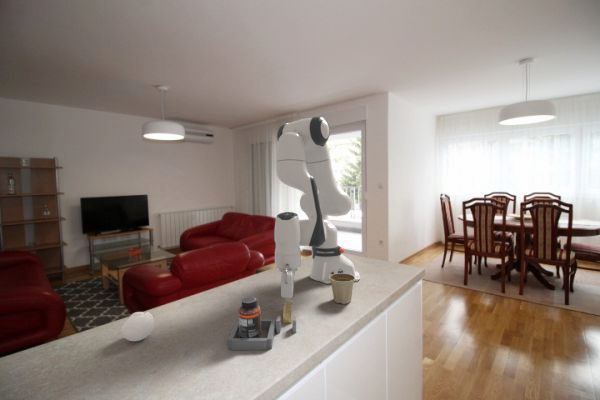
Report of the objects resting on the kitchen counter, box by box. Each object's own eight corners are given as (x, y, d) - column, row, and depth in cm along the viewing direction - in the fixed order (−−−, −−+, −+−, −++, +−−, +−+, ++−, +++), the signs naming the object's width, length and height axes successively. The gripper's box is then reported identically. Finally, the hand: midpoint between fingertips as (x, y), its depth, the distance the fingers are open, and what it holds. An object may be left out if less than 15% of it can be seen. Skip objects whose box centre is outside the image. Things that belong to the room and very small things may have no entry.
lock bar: (285, 311, 94) (284, 302, 93) (292, 311, 93) (292, 302, 93) (283, 323, 86) (283, 313, 85) (291, 323, 86) (291, 313, 85)
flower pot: (323, 301, 101) (323, 277, 100) (339, 293, 108) (338, 271, 107) (345, 308, 95) (345, 283, 94) (360, 299, 101) (360, 276, 101)
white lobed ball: (143, 329, 83) (142, 304, 83) (161, 335, 80) (159, 308, 80) (116, 343, 76) (114, 316, 76) (134, 350, 73) (132, 321, 72)
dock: (296, 326, 83) (296, 315, 83) (295, 349, 72) (295, 336, 72) (237, 327, 83) (237, 316, 83) (227, 350, 72) (227, 337, 72)
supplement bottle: (254, 331, 81) (253, 293, 80) (265, 339, 77) (264, 299, 76) (235, 339, 77) (234, 299, 77) (246, 348, 73) (245, 306, 72)
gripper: (296, 269, 84) (297, 314, 85) (297, 253, 105) (298, 289, 106) (275, 270, 85) (276, 314, 85) (281, 253, 105) (281, 289, 106)
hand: (288, 300), depth 96 cm, fingers closed
